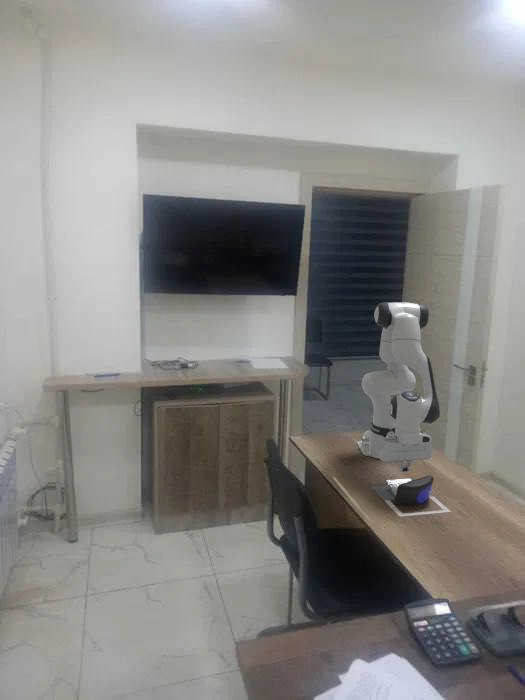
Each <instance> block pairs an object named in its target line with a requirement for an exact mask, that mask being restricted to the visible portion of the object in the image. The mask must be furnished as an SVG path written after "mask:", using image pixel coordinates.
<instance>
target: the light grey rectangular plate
mask: <svg viewBox="0 0 525 700" xmlns="http://www.w3.org/2000/svg"><path fill="white" fill-rule="evenodd" d="M409 481H412V479H411V478H401V479H400V478H399V479H387V480H386V481H385V483H386V486H388V487H389V488H390V490H391V492H392V494H393V495H394V497H396V493H397V489H398V486H399V485H400V484H402V483H406V482H409Z"/></svg>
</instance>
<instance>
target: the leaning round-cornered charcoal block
mask: <svg viewBox="0 0 525 700" xmlns="http://www.w3.org/2000/svg"><path fill="white" fill-rule="evenodd" d="M434 480H435V479H434V476H433V475H427V476H423V477H419V478H417V479H414V480H411V481H409V482H406V483H402V484H400V485H399V486H398V489H397V493H396V497H395V500H393V501H394V505H395V506H399V507H400V506H401V507H412V506H418V505H423V504H424V503H426V502H427V501H428V499H430V498H429V494H431V490H432V488H433V487H432V486H433V483H434Z"/></svg>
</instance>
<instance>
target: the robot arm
mask: <svg viewBox="0 0 525 700" xmlns="http://www.w3.org/2000/svg"><path fill="white" fill-rule="evenodd" d="M373 314H374V322H375V324H376V325H377V326H378V327H380V328H382V331H381V334H380V335H381V337H380V344H379V357H380V360H381V361H383V362H385V363H386V364H387V370H375V371H371V372H369V373H366V374H364V375H363V377H362V380H361V388H362V390H363V392H364V393H365V394H366V395H367V396H368V397H369V398H370V399H371V402H372V408H373V417H372V421H371V422H370V427H369V428H370V429H369V430H367V431H365V432H364V433H363V434H362V436H361V440H359V441H357V446H358V448H359V450H360V451H361V453H362V455H363V456H365V457H372V458H374V459H379V460H380V461H382V462H383V463H394V462H395V463H397V464H398V465H399V472H401V473H402V472H406V473H407V472H409V471H410V467H411V466H412V464H413V461H424V460H430V459H431V458H432V456H433V444H432V443H431V442H432V441H433V437H432V436H431V435H429V434H428V433H426V432H425V431H422V430H421V426H420V425H421V423H423V424H430V425H431V424H434V422H436V421H438V419H439V418H440V416H441V407H440V402H439V399H438V396H437V395H438V394H437V389H436V382H435V377H434V373H433V368H432V367H433V366H432V362H431V360H430V357H429V356H428V355H426V354H425V353H424V351H423V348H422V341H421V339H422V337H421V329H424V328H426V327H427V325H428V323H429V320H430V311H429V308H428V306H427V305H426V304H423V303H413V302H405V301H402V302H400V301H399V302H397V301H395V302H388V301H383V302H380V303H378V304H377V305H376V308H375V310H374V313H373ZM409 368H410V369H412V370H415V371H416V372H417V373H418V374H419V375H420V377H421V382H422V388H423V389H422V390H423V393H424V395H423V396H421V395H420V394H419V393H417V392H414V391H413V390H415V388H416V384H417V380H416V377H415V375H414V373H413V372H412V371H411V370H410V369H409ZM394 395H395V396H394ZM391 396H393V397H392V398H391ZM404 462H406V463H405V465H403V464H404Z"/></svg>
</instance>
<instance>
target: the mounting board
mask: <svg viewBox="0 0 525 700" xmlns="http://www.w3.org/2000/svg"><path fill="white" fill-rule="evenodd" d="M371 489H372V490H374V492H375V493H376V494H377V495H378V496H379V497H380V498H381V499H382V500H383V501H384V502H385V503H386V505H388V506H389V507H390V508H391V509H392V510H393V511H394V512H395V514H396V515H397V516H398V517H410V516H411V517H413V516H420V515H421V516H422V515H423V516H424V515H431V514H443V513H452V510H450V509H449V508H448V507H446V505H444V504H443V503H442V502H441V501H439V499H437V498H436V497H435V496H434V495H433V494H431V493H430V494H429V498H428V499H431V501H433V502H434V503H435V504H436V505H438V507H439V508H440V509H439V510H431V511H419V512H408V513H403V512H402V511H400V509H398V507H396V506H397V505H395V503H394V504H393V503H392V501H395V497H394V495H393V494H392V492H391V490H390V488H389V487H388V485H380V486H377V485H376V486H371ZM441 509H442V510H441Z"/></svg>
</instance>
